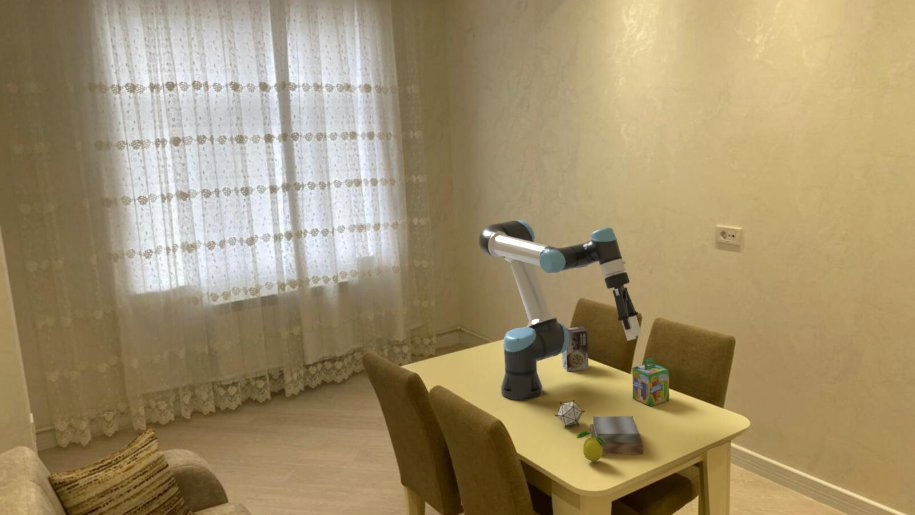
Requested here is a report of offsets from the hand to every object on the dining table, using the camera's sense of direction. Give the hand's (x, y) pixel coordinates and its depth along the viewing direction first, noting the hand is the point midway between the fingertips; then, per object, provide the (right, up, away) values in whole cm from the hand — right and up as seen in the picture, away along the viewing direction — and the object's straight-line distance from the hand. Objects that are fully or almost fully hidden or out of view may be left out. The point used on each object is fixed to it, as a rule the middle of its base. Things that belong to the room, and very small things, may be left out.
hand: (634, 337), depth 215 cm
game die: (-21, -29, +2) cm, 35 cm away
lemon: (-18, -33, -23) cm, 44 cm away
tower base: (-9, -31, -12) cm, 34 cm away
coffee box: (-10, -19, +53) cm, 57 cm away
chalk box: (+10, -24, +18) cm, 32 cm away
